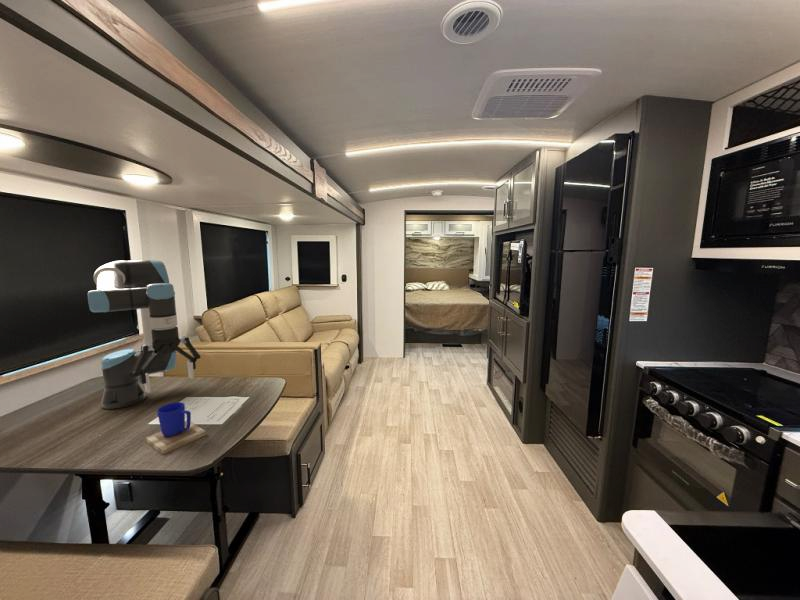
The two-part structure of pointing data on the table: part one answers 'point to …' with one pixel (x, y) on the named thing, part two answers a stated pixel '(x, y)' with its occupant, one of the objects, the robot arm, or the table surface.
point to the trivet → (175, 438)
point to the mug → (173, 418)
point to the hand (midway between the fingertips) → (170, 384)
